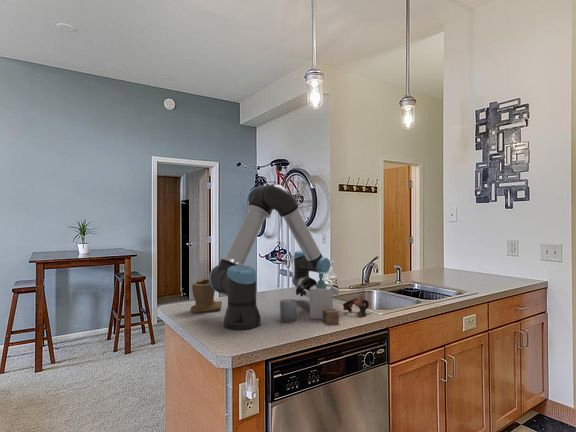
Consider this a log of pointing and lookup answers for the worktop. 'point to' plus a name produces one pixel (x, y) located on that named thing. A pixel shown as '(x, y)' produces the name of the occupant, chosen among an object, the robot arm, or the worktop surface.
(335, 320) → the walnut block
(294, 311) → the slate grey tub
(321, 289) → the soap bottle
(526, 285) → the worktop surface
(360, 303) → the brown arched figurine
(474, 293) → the worktop surface
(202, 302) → the brown boot
